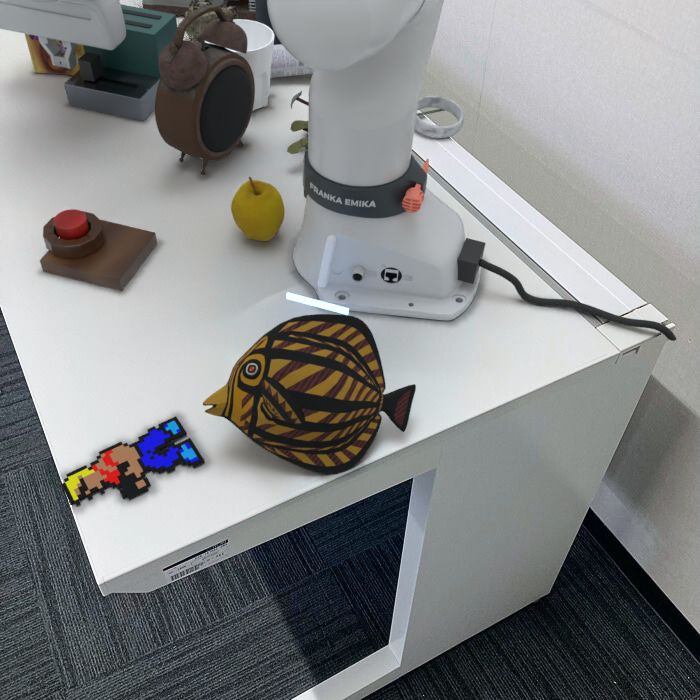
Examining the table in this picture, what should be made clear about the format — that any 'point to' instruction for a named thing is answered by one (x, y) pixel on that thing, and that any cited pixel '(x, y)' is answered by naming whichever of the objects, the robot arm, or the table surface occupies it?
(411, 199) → the robot arm
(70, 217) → the button
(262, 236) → the apple
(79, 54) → the candy box
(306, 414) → the decorative fish sculpture
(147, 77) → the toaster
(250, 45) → the cup
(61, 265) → the block
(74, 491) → the pixel art figurine
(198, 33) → the rock
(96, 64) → the slider
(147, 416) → the table surface
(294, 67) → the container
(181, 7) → the model house
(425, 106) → the ring
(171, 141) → the alarm clock
